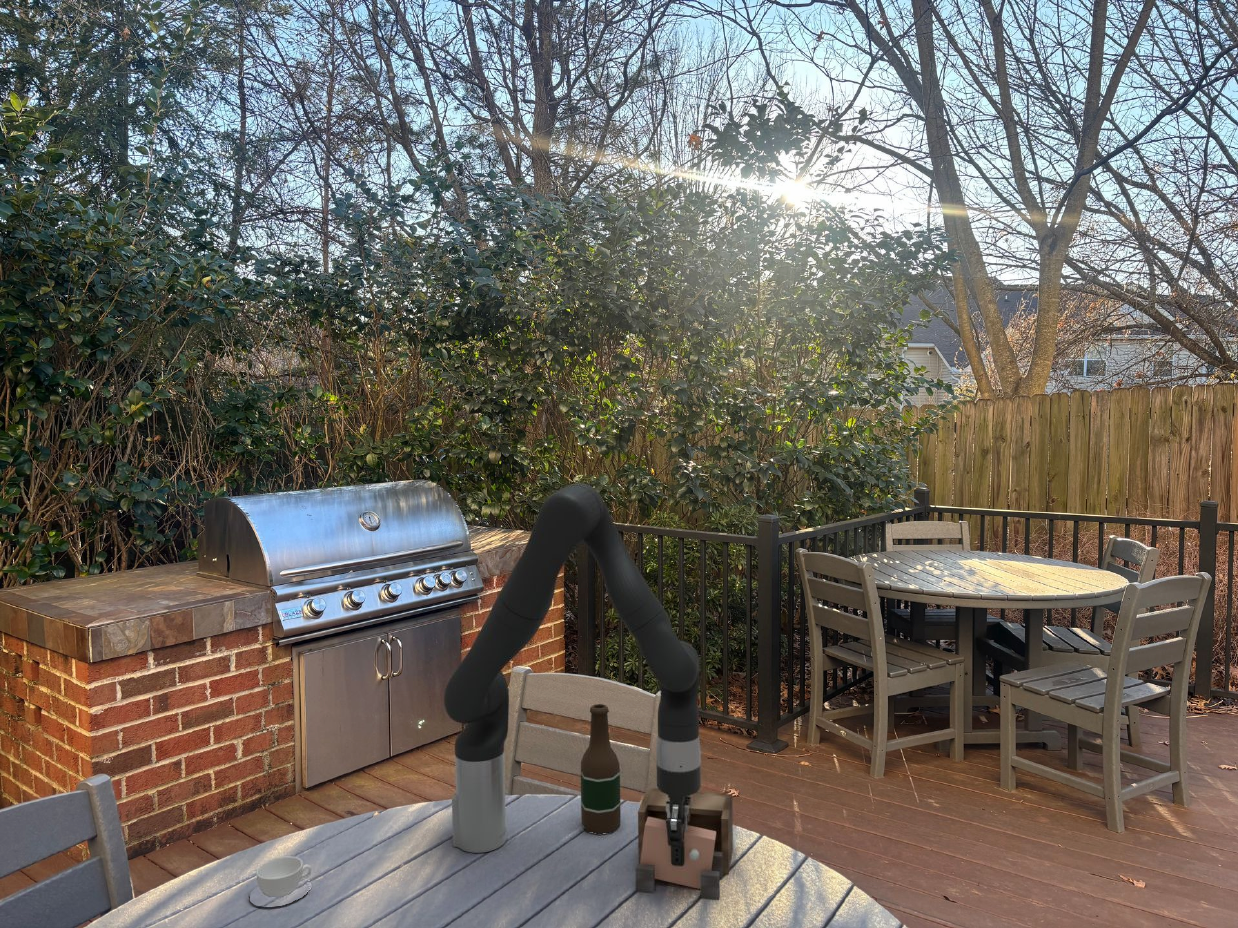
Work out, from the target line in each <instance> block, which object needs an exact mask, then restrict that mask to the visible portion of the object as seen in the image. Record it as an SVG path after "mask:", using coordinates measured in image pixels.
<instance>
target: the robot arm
mask: <svg viewBox="0 0 1238 928" xmlns="http://www.w3.org/2000/svg"><path fill="white" fill-rule="evenodd" d="M581 542H583V543H584V545H585V546H586V547H587V548H588V550H589V551H590V553H591V554H592V555H593V558H594V559H595V562H596V563H597V565H598V567H599V570H600V573H601V575H602V578H603V581H604V584H605V588H606V591H607V595H608V597H609V599H610V602H611V603H612V606H613V608H614V610H615V611H616V614H617V615H618V616H619V618H620V620H621V621H622V623H623V624H624V626H625V627H626V628H627V630H628V631H629V632H630V634H631V636H632V637H633V638H634V640H635V641H636V643H637V645H638V646H639V649H640V651H641V653H642V656H643V657H644V660H645V661H646V664H647V666H648V668H649V670H650V671H651V673H652V675H653V677H654V678H655V679H656V681H657V682H658V683H659V684H660V685H659V687H660V699H659V703H658V708H657V709H658V710H657V739H656V741H657V742H656V751H655V752H656V787H657V788H658V789H659V790H660V791H661V792H662V793H665V794H667V795H668V801H666V812H667V819H666V827H667V837H668V846H671V864H672V865H674V866H683V865H684V862H685V861H684V844H685V832H686V831H687V829H688V824H689V822H690V817H691V812H690V807H691V803H692V798H691V796H690V795H692V794H694V793H696V792H700V789H701V787H702V786H701V785H702V783H701V782H702V780H701V779H702V777H701V776H702V775H701V774H702V773H701V771H702V770H701V764H702V763H701V758H702V757H701V743H700V736H699V735H700V732H699V731H700V725H699V724H700V721H699V720H700V718H699V705H698V704H699V703H698V702H699V701H698V699H699V698H698V697H699V687H700V685H699V684H700V658H699V654H698V652H697V650H696V648H695V647H693V645H691V644H690V643H689V642H686V641H684V640H680V639H679V638H678V636H677V635H676V632H675V631H674V629H673V627H672V622H671V619H670V616H669V615H668V613H667V611H666V610H665V608H664V606H663V605H662V604H661V602H660V601H659V599H658V598H657V597H656V595H655V593H654V592H653V590H652V589H651V587H650V586H649V585H648V583H647V581H646V580H645V578H644V577H643V575H642V574H641V572H640V570H639V568H638V567H637V565H636V563H635V562H634V560H633V558H632V556H631V554H630V553H629V551H628V549H627V546H626V545H625V543H624V541H623V538H622V537H621V535H620V533H619V530H618V529H617V527H616V524H615V522H614V520H613V518H612V516H611V514H610V511H609V509H608V508H607V505H606V503H605V501H604V499H603V498H602V495H600V493H599V492H598V491H597V490H596V488H594V487H592V485H589V484H587V483H583V482H582V483H581V482H576V483H575V482H574V483H571V484H569V485H566V486H564V487H563V488H561V489H559V490H557V491H555V492H553V493H551V494H550V495H549V496H548V497H547V498H546V499H545V500H544V502H543V504H542V505H541V508H540V510H539V512H538V515H537V517H536V520H535V522H534V525H533V527H532V531H531V533H530V536H529V538H528V541H527V544H526V545H525V548H524V550H523V552H522V553H521V555H520V557H519V559H518V560H517V562H516V563H515V565H514V566H513V568H512V570H511V571H510V574H509V576H508V578H507V579H506V581H505V583H504V584H503V586H502V588H501V589H500V591H499V594H498V595H497V597H496V599H495V601H494V603H493V604H492V607H491V608H490V612H489V614H488V616H487V618H486V619H485V621H484V623H483V625H482V626H481V628H480V630H479V632H478V634H477V636H476V638H475V639H474V641H473V643H472V646H471V647H470V649H469V650H468V652H467V654H466V655H465V657H464V658H463V660H462V661H461V662H460V664H459V666H458V667H457V668H456V670H455V671H454V672H453V674H452V675H451V677H450V678H449V680H448V682H447V684H446V686H445V690H444V696H443V703H444V709H445V712H446V714H447V715H448V717H449V718H450V719H451V720H452V721H453V722H456V723H458V724H466V726H465V727H464V728H463V730H462V731H461V732H460V733H459V735H458V736H457V737H456V739H455V742H454V763H455V764H454V767H455V769H454V770H455V793H454V794H453V795H452V796H451V817H452V818H451V819H452V846H453V847H455V848H459V849H461V850H462V851H464V852H468V853H474V854H475V853H476V854H477V853H478V854H480V853H488V852H491V851H494V850H497V849H499V848H500V847H502V846H503V845H504V844H505V843H506V841H507V834H506V833H507V823H506V818H507V815H506V811H507V810H506V777H505V776H506V774H505V773H506V771H505V770H506V768H505V765H506V764H505V744H506V743H505V742H506V741H507V738H508V734H509V717H510V716H509V714H510V711H509V710H510V709H509V708H510V693H509V686H508V681H507V679H506V676H505V674H504V672H503V671H502V670H503V669H504V668H505V666H506V665H508V664H509V663H510V662H511V661H512V660H513V659H514V658H515V657H516V656H517V655H518V654H519V653H520V652H521V651H522V650H523V649H524V648H525V647H526V646H527V645H528V644H529V643H530V642H531V640H532V639H533V638H534V637H535V635H536V634H537V632H538V631H539V629H540V627H541V626H542V623H543V621H544V620H545V618H546V616H547V615H548V612H549V610H550V608H551V606H552V604H553V603H552V602H553V600H554V596H555V590H556V586H557V585H556V584H557V580H558V576H559V574H560V572H561V570H562V569H563V567H564V566H565V564H566V562H567V561H568V559H569V557H570V556H571V554H572V553H573V551H574V550H575V549H576V548H577V546H578V545H579V544H580V543H581ZM682 824H683V825H682Z"/></svg>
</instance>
